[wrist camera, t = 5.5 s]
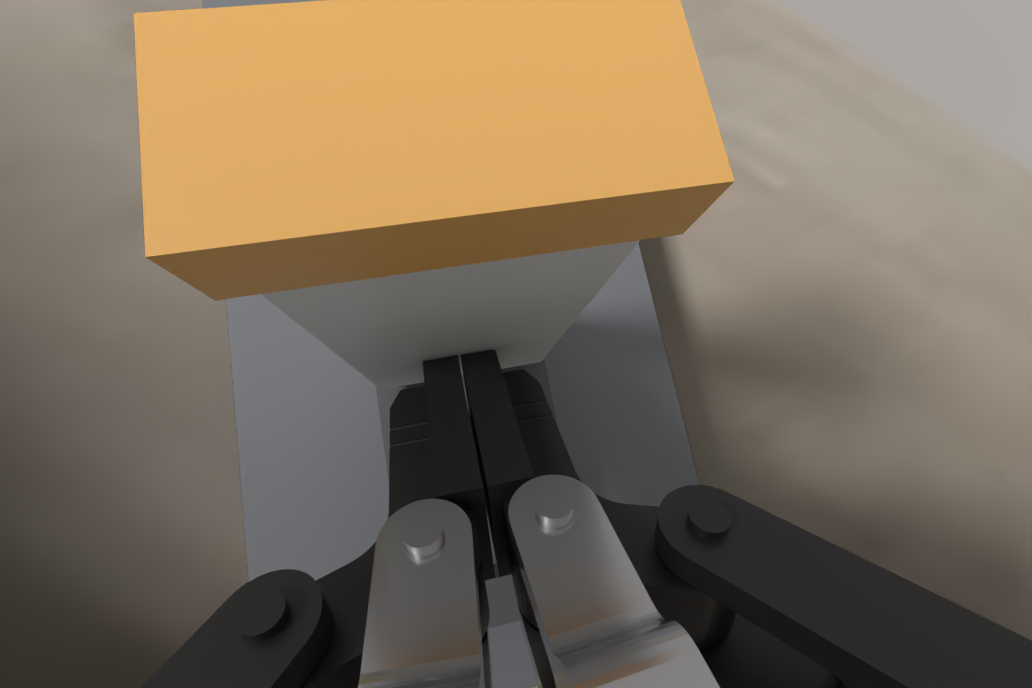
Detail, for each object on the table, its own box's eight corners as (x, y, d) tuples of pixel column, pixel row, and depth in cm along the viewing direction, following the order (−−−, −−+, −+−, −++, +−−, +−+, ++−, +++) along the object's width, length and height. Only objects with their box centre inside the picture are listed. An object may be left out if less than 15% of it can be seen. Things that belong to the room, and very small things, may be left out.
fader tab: (548, 404, 14) (762, 274, 4) (386, 433, 13) (149, 369, 3) (523, 280, 14) (650, -96, 5) (368, 303, 14) (129, -72, 4)
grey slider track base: (702, 609, 15) (770, 654, 12) (291, 713, 14) (233, 799, 10) (545, -37, 20) (562, -139, 16) (224, -17, 18) (170, -125, 15)
